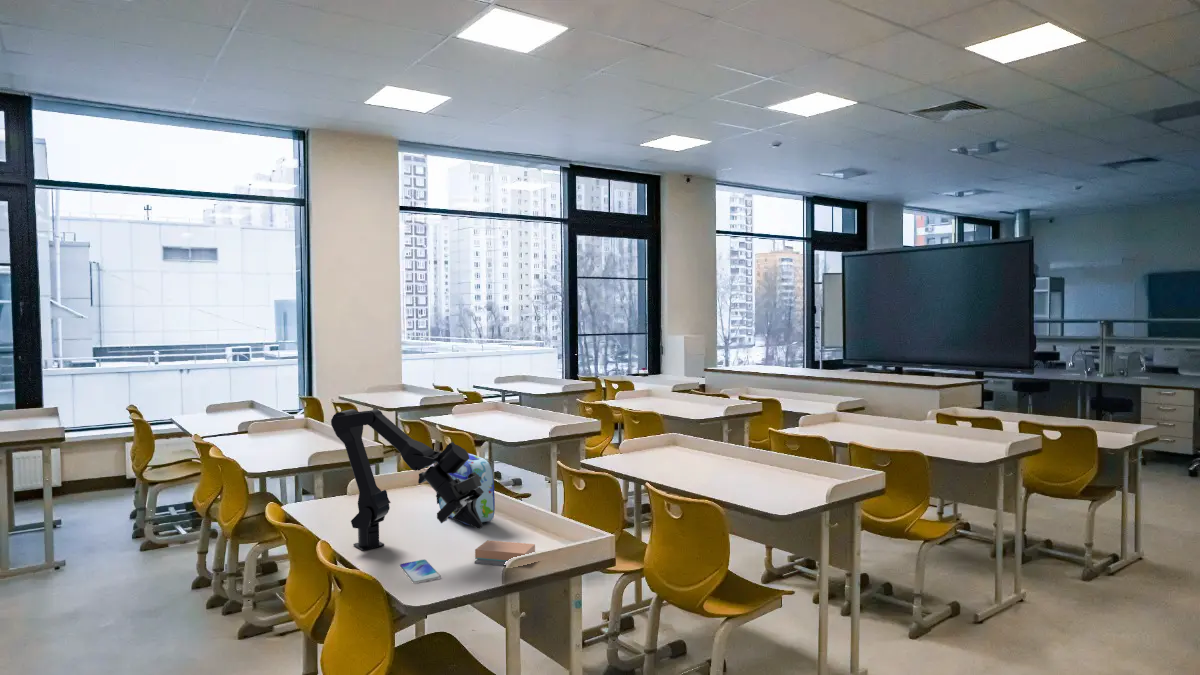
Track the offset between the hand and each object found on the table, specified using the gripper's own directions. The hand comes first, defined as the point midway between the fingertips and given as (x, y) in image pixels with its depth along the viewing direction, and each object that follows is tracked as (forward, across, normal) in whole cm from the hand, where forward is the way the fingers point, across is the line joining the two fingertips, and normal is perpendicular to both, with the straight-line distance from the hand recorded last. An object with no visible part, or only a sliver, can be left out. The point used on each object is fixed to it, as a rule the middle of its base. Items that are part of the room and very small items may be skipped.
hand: (481, 527), depth 200 cm
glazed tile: (+4, 0, +4) cm, 6 cm away
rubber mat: (+10, 0, +1) cm, 10 cm away
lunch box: (-8, +32, +20) cm, 39 cm away
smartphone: (-1, -15, +13) cm, 20 cm away
